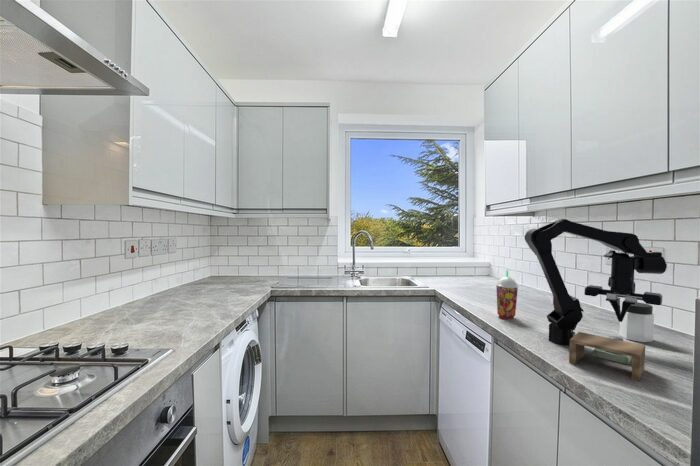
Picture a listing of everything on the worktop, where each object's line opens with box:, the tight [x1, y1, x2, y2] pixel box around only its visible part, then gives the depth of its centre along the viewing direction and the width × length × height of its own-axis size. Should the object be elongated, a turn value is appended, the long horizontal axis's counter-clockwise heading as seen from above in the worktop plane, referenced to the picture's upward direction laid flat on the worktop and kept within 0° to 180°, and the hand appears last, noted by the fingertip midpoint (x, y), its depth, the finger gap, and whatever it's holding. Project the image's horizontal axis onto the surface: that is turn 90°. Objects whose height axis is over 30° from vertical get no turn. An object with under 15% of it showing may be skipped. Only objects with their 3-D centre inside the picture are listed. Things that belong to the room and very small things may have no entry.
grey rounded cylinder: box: [608, 335, 624, 355], centre depth 102 cm, size 3×3×4 cm
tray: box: [592, 348, 632, 365], centre depth 100 cm, size 8×12×3 cm, turn 133°
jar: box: [619, 301, 655, 343], centre depth 117 cm, size 9×8×12 cm
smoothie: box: [495, 270, 519, 320], centre depth 142 cm, size 8×8×20 cm
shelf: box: [568, 331, 646, 382], centre depth 92 cm, size 15×10×7 cm, turn 43°
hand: (620, 321), depth 107 cm, fingers closed
